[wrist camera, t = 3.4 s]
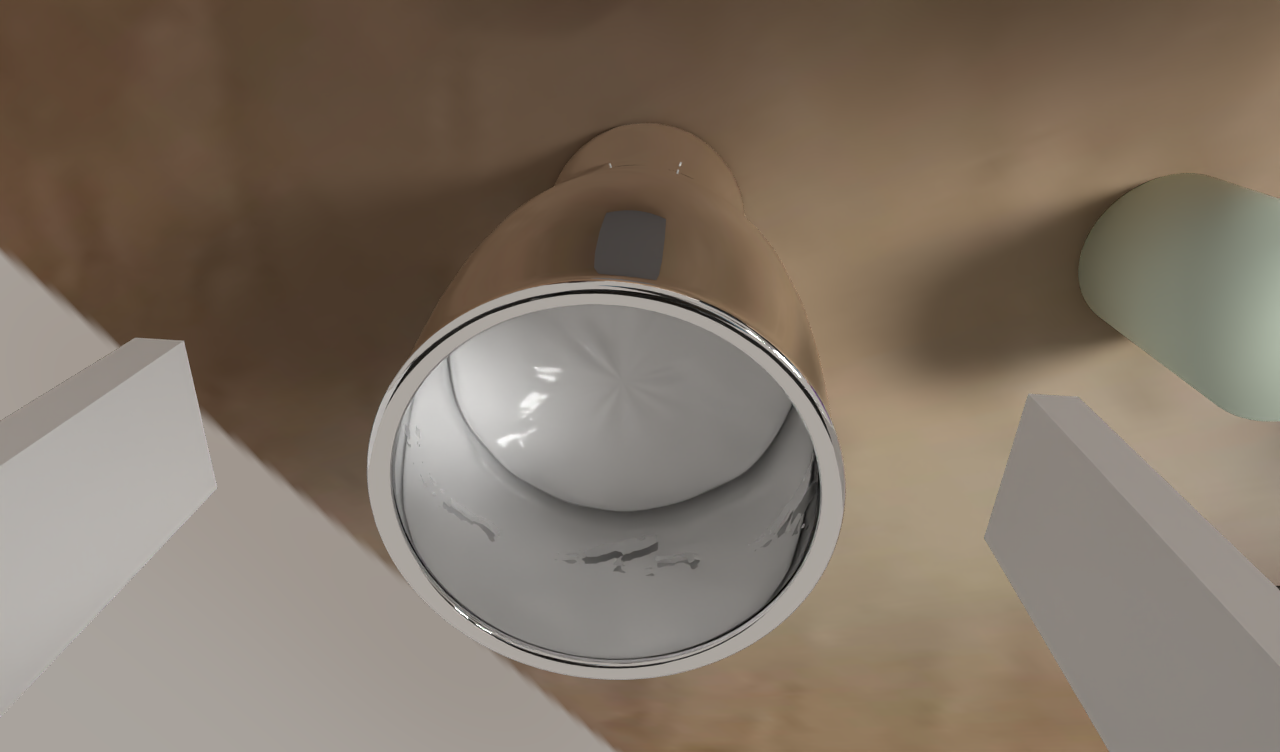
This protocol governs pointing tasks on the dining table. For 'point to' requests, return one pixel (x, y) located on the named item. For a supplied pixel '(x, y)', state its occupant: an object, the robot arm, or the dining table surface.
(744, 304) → the beer glass
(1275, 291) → the sage cylinder
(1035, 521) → the robot arm
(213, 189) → the dining table surface
